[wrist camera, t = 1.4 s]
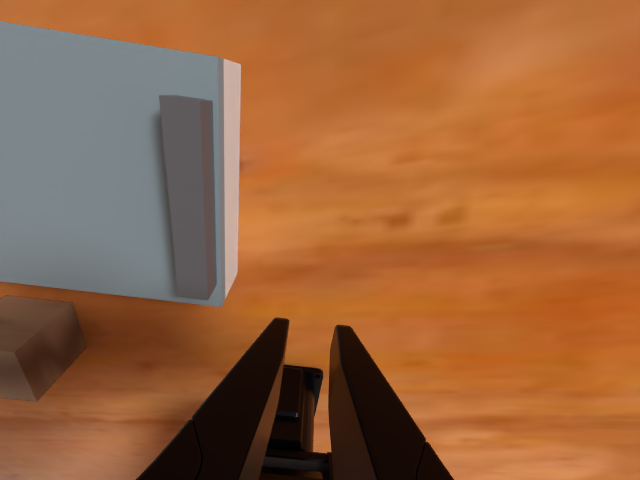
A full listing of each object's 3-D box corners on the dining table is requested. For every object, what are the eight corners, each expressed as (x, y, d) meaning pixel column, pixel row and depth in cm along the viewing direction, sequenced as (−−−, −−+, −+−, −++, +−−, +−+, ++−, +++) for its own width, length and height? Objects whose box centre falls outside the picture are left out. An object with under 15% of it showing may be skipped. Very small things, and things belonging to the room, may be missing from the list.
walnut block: (87, 347, 25) (36, 401, 21) (26, 340, 25) (-37, 394, 21) (73, 302, 23) (14, 352, 19) (7, 294, 23) (-70, 343, 18)
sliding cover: (225, 298, 19) (213, 324, 17) (-18, 270, 18) (-61, 293, 16) (223, 58, 13) (204, 52, 11) (-141, -1, 12) (-236, -20, 10)
